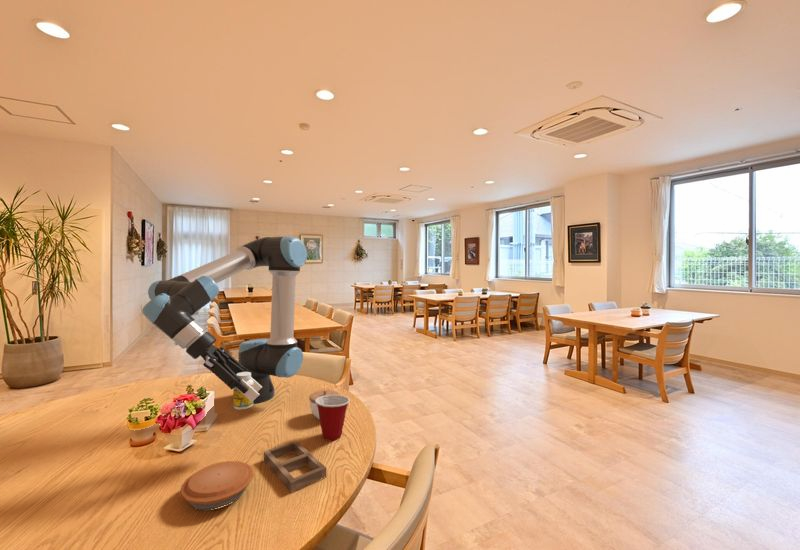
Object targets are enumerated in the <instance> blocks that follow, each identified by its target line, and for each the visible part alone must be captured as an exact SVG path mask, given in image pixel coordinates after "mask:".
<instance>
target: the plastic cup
mask: <svg viewBox="0 0 800 550" xmlns="http://www.w3.org/2000/svg"><path fill="white" fill-rule="evenodd" d="M315 401H316V404H317V407H318V412H319V417H320V420H319V423H320V427H321V434H322V438H323V439H324V440H326V441H336V440H338V439H340V438H341V437H342V434H343V428H344V424H345V420H346V419H345V418H346V413H347V409H348V405H349V403H350V401H351V400H350V398H349V397H348V396H346V395H341V394H340V395H326V396H321V397H318V398H317V399H316V400H315Z"/></svg>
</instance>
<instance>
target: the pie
mask: <svg viewBox="0 0 800 550" xmlns="http://www.w3.org/2000/svg"><path fill="white" fill-rule="evenodd" d="M254 477H255V471H254V469H253V467H252V465H250V464H249V463H246V462H242V461H239V460H238V461H233V460H232V461H220V462H216V463H212V464H209V465H207V466H205V467H203V468H201V469H199V470H198V471H196V472H194V473H192V474H191V475H190V476H189V477H187V478H186V479H185V480H184V482H183V483H182V484H181V487H180V490H179V492H180V494H181V496H182V497H183V499H184V500H185V501H186V502H188V503H189V504H190V505H191V506H192V507H193V508H194V507H195V508H194V509H196V508H197V509H196V510H198V509H200V510H199V511H202V510H210V511H212V510H211V509H215V508H218V507H221V506H224V505H227V504H229V503H231V502H233V501H235V500H236V499H237V500H239V498H240V497H242V495H243V494H244V492H245V491H246V488H247V487H248V486H249V485H250V483H251V482H252V480H253V479H254ZM237 500H236V501H237ZM236 501H235V502H236ZM233 503H234V502H233Z"/></svg>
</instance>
